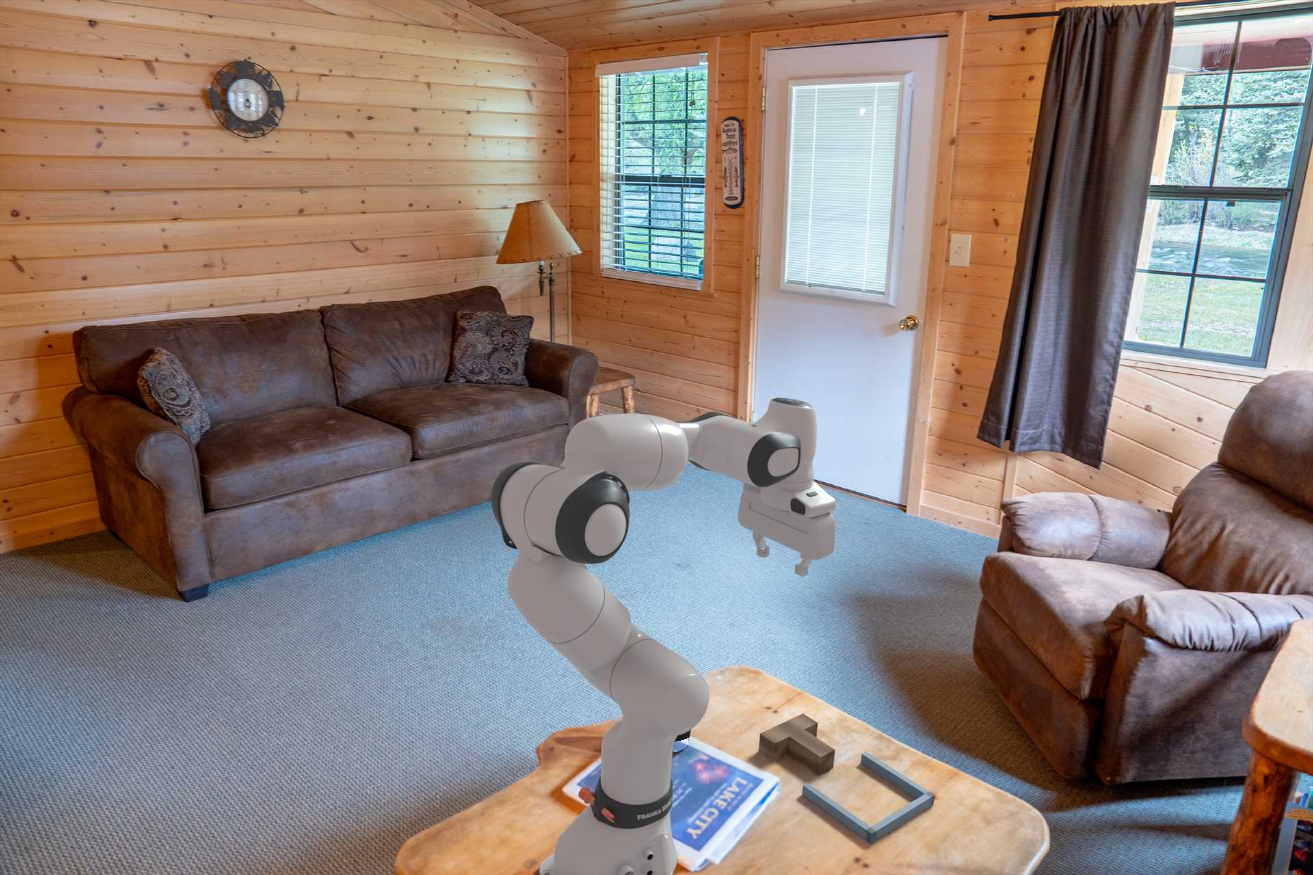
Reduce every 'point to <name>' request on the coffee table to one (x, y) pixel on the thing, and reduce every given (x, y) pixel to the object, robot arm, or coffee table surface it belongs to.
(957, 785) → the coffee table surface
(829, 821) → the coffee table surface
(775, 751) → the walnut T block
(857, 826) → the slate bay
